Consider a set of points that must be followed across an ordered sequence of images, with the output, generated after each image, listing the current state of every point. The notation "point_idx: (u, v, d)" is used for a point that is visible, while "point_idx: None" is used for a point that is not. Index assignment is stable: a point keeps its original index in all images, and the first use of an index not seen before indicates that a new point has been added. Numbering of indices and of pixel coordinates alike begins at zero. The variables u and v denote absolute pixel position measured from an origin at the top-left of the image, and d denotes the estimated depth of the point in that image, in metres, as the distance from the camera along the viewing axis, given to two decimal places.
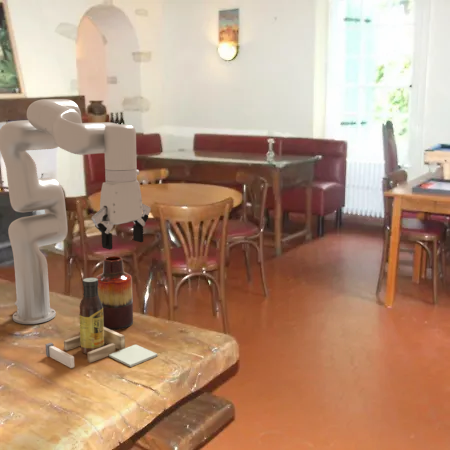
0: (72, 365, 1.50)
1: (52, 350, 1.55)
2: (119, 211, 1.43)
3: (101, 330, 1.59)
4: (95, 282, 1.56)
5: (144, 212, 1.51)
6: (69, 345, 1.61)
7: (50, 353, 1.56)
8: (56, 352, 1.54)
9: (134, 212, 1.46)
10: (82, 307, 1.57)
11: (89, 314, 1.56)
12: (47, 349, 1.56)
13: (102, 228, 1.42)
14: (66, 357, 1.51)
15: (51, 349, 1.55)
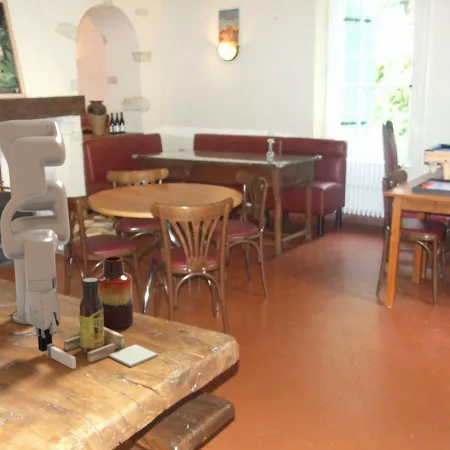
0: (73, 366, 1.50)
1: (53, 351, 1.55)
2: None
3: (101, 330, 1.59)
4: (95, 282, 1.56)
5: None
6: (69, 345, 1.61)
7: (51, 354, 1.55)
8: (57, 353, 1.53)
9: None
10: (82, 307, 1.57)
11: (89, 314, 1.56)
12: (48, 350, 1.56)
13: None
14: (67, 358, 1.50)
15: (52, 350, 1.55)
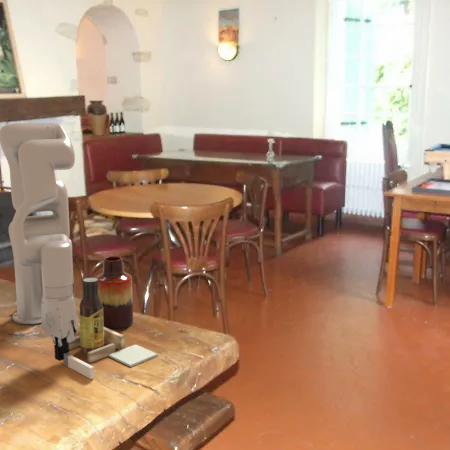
0: (92, 376, 1.45)
1: (71, 360, 1.49)
2: None
3: (101, 330, 1.59)
4: (95, 282, 1.56)
5: None
6: (69, 345, 1.61)
7: (68, 363, 1.50)
8: (75, 362, 1.48)
9: None
10: (82, 307, 1.57)
11: (89, 314, 1.56)
12: (65, 359, 1.51)
13: None
14: (86, 367, 1.45)
15: (69, 359, 1.50)
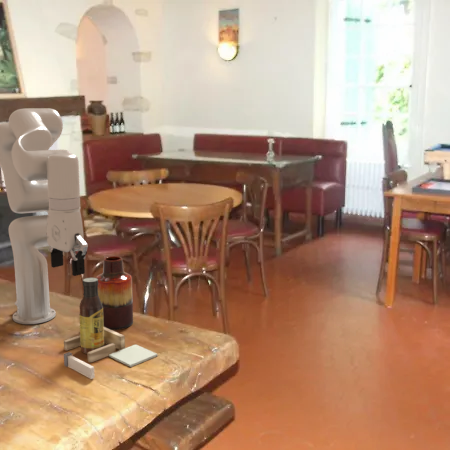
0: (92, 376, 1.45)
1: (71, 360, 1.49)
2: None
3: (101, 330, 1.59)
4: (95, 282, 1.56)
5: None
6: (69, 345, 1.61)
7: (69, 363, 1.50)
8: (75, 362, 1.48)
9: None
10: (82, 307, 1.57)
11: (89, 314, 1.56)
12: (65, 359, 1.51)
13: None
14: (86, 367, 1.45)
15: (70, 359, 1.50)
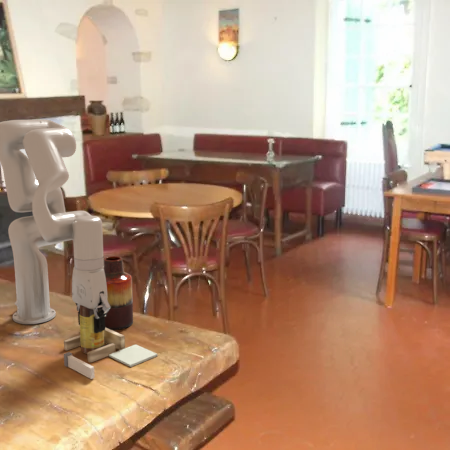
0: (92, 376, 1.45)
1: (71, 360, 1.49)
2: None
3: None
4: None
5: None
6: (69, 345, 1.61)
7: (69, 363, 1.50)
8: (75, 362, 1.48)
9: None
10: (82, 307, 1.56)
11: (89, 314, 1.56)
12: (65, 359, 1.51)
13: None
14: (86, 367, 1.45)
15: (70, 359, 1.50)
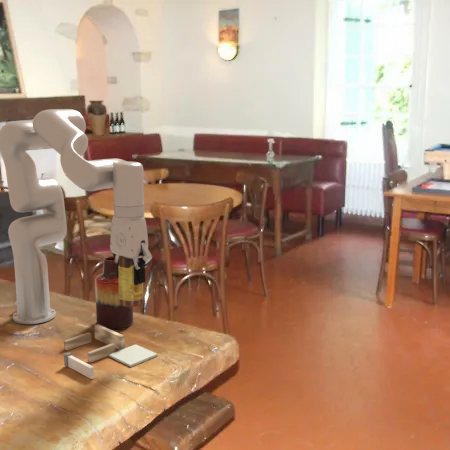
0: (92, 376, 1.45)
1: (71, 360, 1.49)
2: None
3: None
4: None
5: None
6: (69, 345, 1.61)
7: (69, 363, 1.50)
8: (75, 362, 1.48)
9: None
10: (122, 257, 1.50)
11: (129, 264, 1.49)
12: (65, 359, 1.51)
13: None
14: (86, 367, 1.45)
15: (70, 359, 1.50)
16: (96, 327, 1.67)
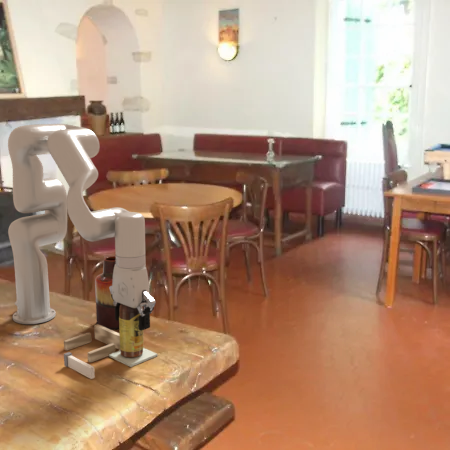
0: (92, 376, 1.45)
1: (71, 360, 1.49)
2: None
3: (141, 333, 1.55)
4: None
5: None
6: (69, 345, 1.61)
7: (69, 363, 1.50)
8: (75, 362, 1.48)
9: None
10: (122, 310, 1.53)
11: (129, 317, 1.53)
12: (65, 359, 1.51)
13: None
14: (86, 367, 1.45)
15: (70, 359, 1.50)
16: (96, 327, 1.67)
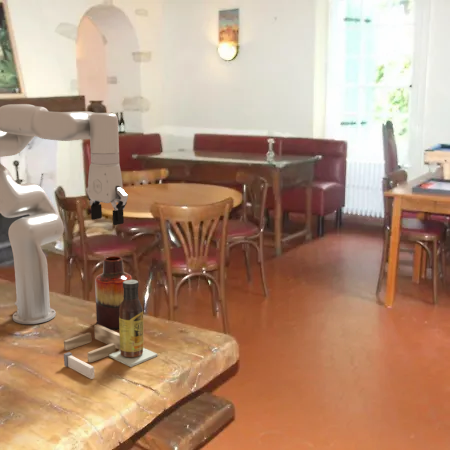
0: (92, 376, 1.45)
1: (71, 360, 1.49)
2: None
3: (141, 333, 1.55)
4: (136, 284, 1.53)
5: None
6: (69, 345, 1.61)
7: (69, 363, 1.50)
8: (75, 362, 1.48)
9: None
10: (122, 310, 1.53)
11: (129, 317, 1.53)
12: (65, 359, 1.51)
13: None
14: (86, 367, 1.45)
15: (70, 359, 1.50)
16: (96, 327, 1.67)
